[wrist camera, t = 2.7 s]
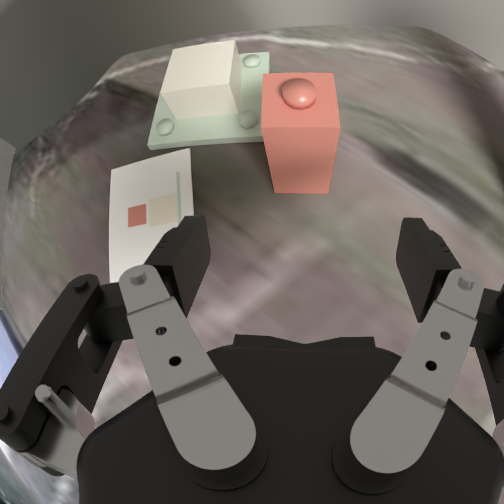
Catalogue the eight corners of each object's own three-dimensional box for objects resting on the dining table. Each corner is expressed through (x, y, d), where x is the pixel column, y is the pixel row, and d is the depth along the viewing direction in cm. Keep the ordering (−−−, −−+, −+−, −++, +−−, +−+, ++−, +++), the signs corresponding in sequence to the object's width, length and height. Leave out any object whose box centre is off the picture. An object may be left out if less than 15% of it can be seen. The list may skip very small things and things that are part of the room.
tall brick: (325, 148, 27) (333, 65, 16) (327, 193, 26) (341, 119, 16) (275, 148, 28) (261, 65, 17) (274, 193, 27) (259, 120, 16)
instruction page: (190, 148, 29) (189, 147, 29) (198, 269, 26) (197, 269, 26) (112, 170, 30) (111, 169, 30) (110, 282, 27) (109, 282, 27)
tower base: (269, 58, 30) (264, 22, 25) (268, 141, 28) (261, 106, 22) (171, 69, 32) (155, 39, 27) (151, 150, 30) (126, 121, 24)
